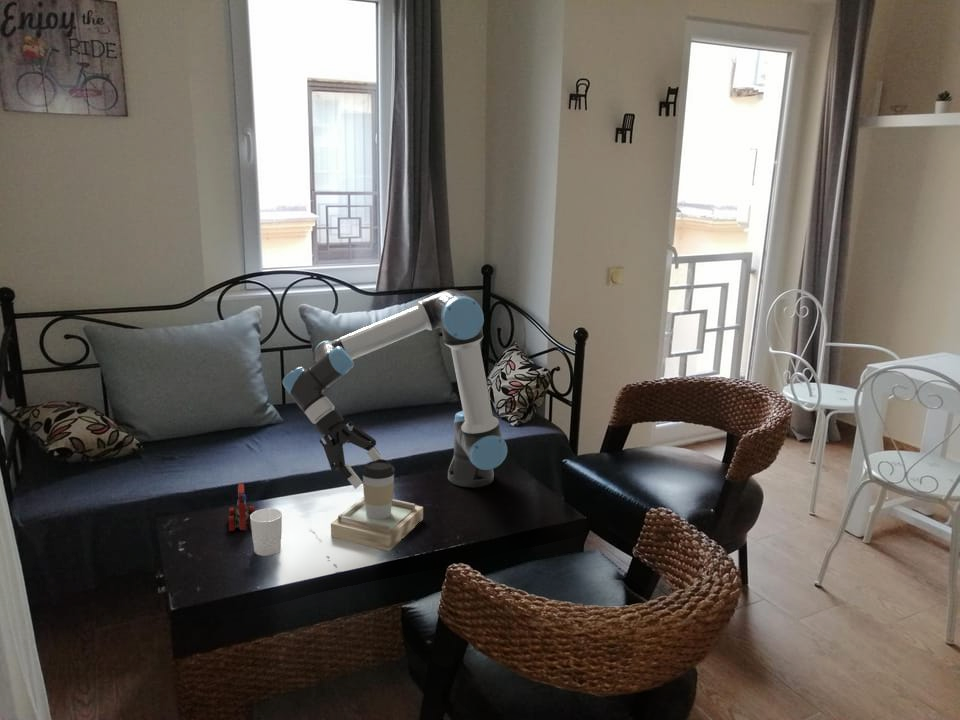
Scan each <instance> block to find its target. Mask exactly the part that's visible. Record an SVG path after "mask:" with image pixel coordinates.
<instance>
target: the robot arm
mask: <svg viewBox="0 0 960 720" xmlns="http://www.w3.org/2000/svg"><path fill="white" fill-rule="evenodd" d="M484 316H485V315H484V312H483V309H482V308H481V305H480V304H479V303H478V302H477V301H476V299H474V298H473V297H471V296H468V295H467V294H466V293H464V292H463V291H460V290H458V289H446V290H442V291H440V292H437V293H436V294H433V295H431V296H428V297H426V298H423V299H422V300H419V301H418V302H417V304H416V305H415V306H413V307H410V308H409V309H406V310H404V311H402V312H398V313H396V314H394V315H391V316H389V317H387V318H384V319H382V320H379V321H376V322H374V323H372V324H370V325H367V326H365V327H361V328H360V329H358V330H356V331H353V332H350V333H348V334H346V335H343V336H341V337H339V338H336V339H333V340H323V341H321V342H319V343H318V344H317V345H316V347H315V349H314V360H315V362H314V364H313V365H311V366H310V367H308V368H307V369H305V368H304V367H303V366H298V367H296V368H295V369H293V370H291V371H290V372H289V373H287V374H286V376H284V377H283V379H282V385H283V387H284V388H285V390H286V392H287V393H288V394H289V396H290V397H291V398H292V399H293V401H294V402H295V403H296V405H297V406H298V407H299V409H301V411H302V412H303V413H304V414H305V415H306V417H307V418H308V420H310V422H311V423H312V424H315V425H314V427H315V429H317V431H318V433H319V434H320V435H321V436H323V437H321V438H320V439H319V443H320V444H321V446H322V447H323V450H324V452H325V453H324V454H325V455H326V457H327V461H328V464H329V468H330V469H331V471H333V472H334V471H335V472H340V473H341V474H342V475H343V477H344V478H345V479H346V480H347V481H348V482H349V483H350V484H351V485H352V487H353V488H354V489H355V490H356V489H357V488H358V487H360V486H361V485H363V480H361V479H360V477H359V476H358V474H357V473H356V472H355V471H354V469H353V468H352V467H351V465H350V464H349V463H347V464H346V462H345V453H344V448H343V447H344V446H343V445H345V444H352V445H355V446H357V447H358V448H361V449H363V450H365V451H367V452H366V454H367V455H368V457H369V458H370V459H371V460H372V461H376V460H378V459H383V460H385V459H384V458H383V457H382V455H381V453H380V452H379V451H378V449H377V448H376V447H375V446H376V445H377V440H376V439H375V438H373V437H372V436H371V435H369V434H368V433H366V432H365V431H364V430H362V428H359V427H358V426H357V425H355V423H354V421H352V420H350V421H348V422H347V424H345V423H344V417H343V416H342V415H341V412H339V411H338V409H335V405H334V404H333V403H332V401H331V400H330V399H329V398H328V397H327V396H326V395H325V393H324V391H325V390H327V389H328V388H329V387H330V386H332V385H333V384H334V383H335V382H337V381H339V379H341V378H342V377H343V376H345V375H346V374H348V372H349V371H350V370H351V369H352V368H354V366H355V363H354V359H355V360H356V359H358V358H360V357H362V356H365V355H367V354H369V353H372V352H374V351H377V350H379V349H381V348H384V347H386V346H389V345H391V344H393V343H395V342H398V341H400V340H402V339H403V340H404V339H406V338H408V337H410V336H413V335H415V334H418V333H420V332H422V331H424V330H425V331H426V330H428V331H433V330H435V329H439V328H440V329H441V333H442V338H443V342H444V345H445V346H446V347H449V348H450V351H451V357H452V360H453V362H452V363H453V367H454V371H455V376H456V381H457V387H458V392H459V396H460V401H461V402H460V403H461V408H462V410H461V411H458V412H456V413H455V415H454V421H453V428H454V434H453V457H452V459H451V462H450V465H449V467H448V470H447V479H448V481H449V482H450V483H452V484H453V485H455V486H459V487H463V488H481V487H485V486H489V485H490V484H492V482H494V479H495V478H494V475H495V474H494V473H495V472H494V469H496V468H497V467H499V466H500V465H501V464H503V462H504V460H506V457H507V455H508V445H507V443H506V441H505V439H504V438H503V437H502V432H501V426H500V421H499V419H498V418H497V417H495V416H494V415H493V411H492V405H491V400H490V393H489V389H488V388H489V387H488V383H487V377H486V372H485V367H484V362H483V361H484V360H483V356H482V351H481V349H482V348H481V345H480V343H481V341H482V340H483V338H484V333H483V331H484V330H483V326H484V322H485V318H484Z"/></svg>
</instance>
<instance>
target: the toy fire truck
mask: <svg viewBox="0 0 960 720" xmlns="http://www.w3.org/2000/svg"><path fill="white" fill-rule="evenodd" d="M237 496H238V497H237V498H238V499H237V502H236V503H237V507H236V508H235V507H230V508H228V531H229V532H235V531H236V529H237V528H239V530H240V531H243V530H246V529H247V526H246V525H248V526H249V527H248V528H249V529H250V530H251V521H250V515H251V514H252V513H253V512H255V511H256V510H255V505H249V506H247V505H246V504H247V502H246V500H247V495H246V494H245V484H244V483H238V484H237Z"/></svg>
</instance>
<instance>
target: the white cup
mask: <svg viewBox="0 0 960 720" xmlns="http://www.w3.org/2000/svg"><path fill="white" fill-rule="evenodd" d="M282 518H283V515H282V511H281V510H279V509H277V508H272V507H271V508H269V507H268V508H261V509H257V510H255V512H253V513H252V514H251V515H250V521H251V529H250V531H251V538H252V543H253V551H254V553H255V554H256V555H257V556H261V557H266V556H267V557H269V556H273V555H275V554H278V553H279V552H280V551H281V549H282V547H281V546H282V528H283V527H282V524H283V523H282V522H283V519H282Z"/></svg>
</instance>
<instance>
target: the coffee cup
mask: <svg viewBox="0 0 960 720" xmlns="http://www.w3.org/2000/svg"><path fill="white" fill-rule="evenodd" d="M383 459H384V458H383ZM383 459H378V460H376V461H373V460H372V461H369V462H367V463H366V465H364V466H363V467H362V471H361V474H362V482H363V483H362V487H363V497H364V500H365V506H366V515H367V516H368V517H369V518H372V519H384V518H387V517H389V516H390V515H391V506H392V500H393V499H394V497H393V496H394V487H395V473H396V471H395V467H394V465H392V464H391V463H390V462H389V461H387V460H386V459H384V460H383Z"/></svg>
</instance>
